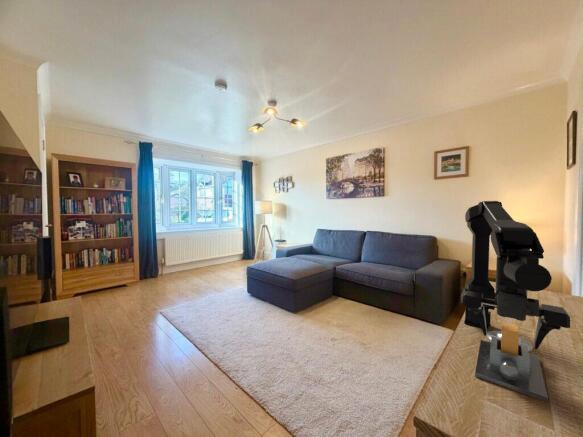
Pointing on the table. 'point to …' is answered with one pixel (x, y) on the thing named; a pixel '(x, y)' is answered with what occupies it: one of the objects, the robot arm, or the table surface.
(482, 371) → the bracket
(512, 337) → the orange rectangular prism
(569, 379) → the table surface
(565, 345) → the table surface
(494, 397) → the table surface
